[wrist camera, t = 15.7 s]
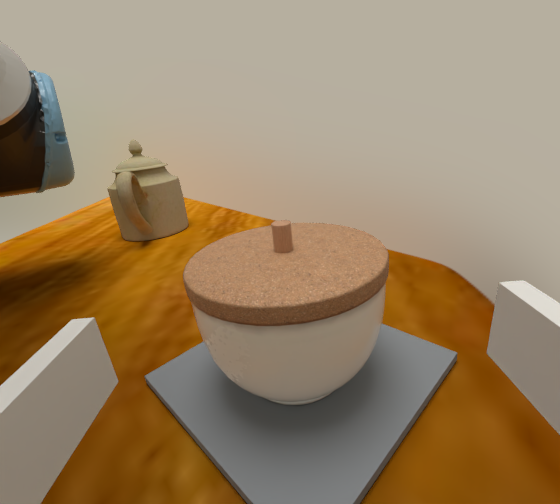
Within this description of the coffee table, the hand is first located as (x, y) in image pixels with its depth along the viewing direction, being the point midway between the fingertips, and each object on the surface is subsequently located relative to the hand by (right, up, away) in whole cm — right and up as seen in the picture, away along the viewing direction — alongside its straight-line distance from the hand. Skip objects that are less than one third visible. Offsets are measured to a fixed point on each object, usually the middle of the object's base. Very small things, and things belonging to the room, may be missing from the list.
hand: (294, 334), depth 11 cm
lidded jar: (+1, -5, +9) cm, 11 cm away
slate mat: (+1, -5, +10) cm, 11 cm away
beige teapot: (-21, +6, +43) cm, 48 cm away
